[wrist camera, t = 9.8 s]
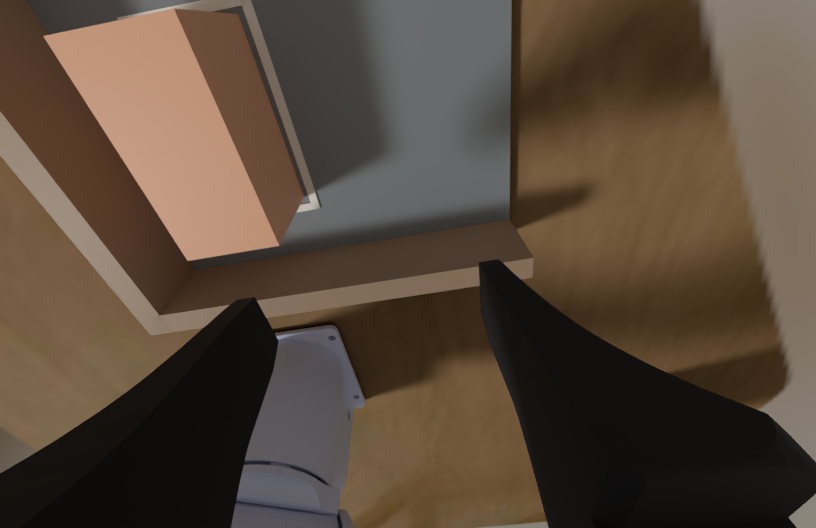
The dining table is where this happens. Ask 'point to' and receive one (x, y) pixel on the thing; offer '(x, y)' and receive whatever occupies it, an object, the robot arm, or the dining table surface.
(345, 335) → the dining table surface
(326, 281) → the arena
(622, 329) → the dining table surface
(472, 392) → the dining table surface
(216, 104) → the terracotta block
